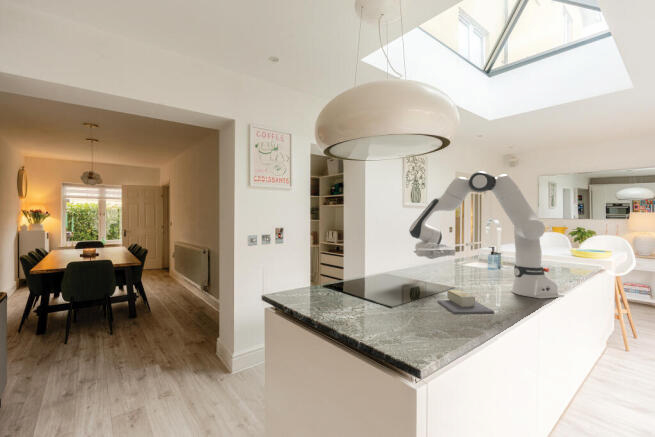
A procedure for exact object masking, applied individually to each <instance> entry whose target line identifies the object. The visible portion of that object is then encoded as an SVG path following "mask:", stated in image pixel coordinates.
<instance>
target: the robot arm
mask: <svg viewBox="0 0 655 437" xmlns="http://www.w3.org/2000/svg"><path fill="white" fill-rule="evenodd" d="M488 191H489V192H490V191H491V192H492V193H493V195H494V196H495V198H496V199H497V201H498V202H499V204H500V207H501V208H502V209H503V211H504V213H505V214H506V216H507V217H508V219H509V220H510V222H512V225H513V226H514V230H513V231H514V233H513V234H514V246H515V262H514V265H513V272H514V278H513V284H512V286H511V287H512V288H511V290H510V292H511V293H512V294H515V295H519V296H524V297H529V298H536V299H551V298H563V297H564V296H565V294H563V293H562V292H560V291H559V288H558V285H557V283H556V281H554V280H553V279H552V278H550V277H549V276H547V275H546V273H549V272H550V269H549V267H548V268H547V267H543V266H542V247H541V240H540V238H541V237H543V236H544V234H545V232H546V227H545V225H544V222H543V221H542V220H541V218H540V216H538V214H537V213H536V212H535V210H534V209H533V208H532V206H531V205H530V203H529V202H528V201H527V199H526V197H525V196H524V194H523V192H522V190H521V189H520V188H519V186H518V185H517V183H516V182H515V181H514V180H513V179H512V177H511V176H510V175H509V174H508V175H507V174H499V175H497V176H494V175H492V174H490V173H488V172H485V171H477V172H476V171H475V172H474V173H472V174H471V175H470V176H469V178H466V177H464V176H457V177H454V179H453V180H452V181H451V182H450V184H448V186H447V187H446V189H445V191H444V193H443V194H442V195H440V196H439V197H438V198H434V199H433V200H431V202H430V203H429V204H428V205H427V206H426V207H425V208H424V210H423V211H422V212H421V213H420V215H419V216H418V217H417V218H416V219H415V220H414V221H413V222H412V224H410V227H409V230H408V231H409V235H411V238H414V239H418V240H420V241H418V242H417V243H416V244H415V246H414V248H415V249H414V250H413V253H414V254H415V255H416V256H417V257H421V258H423V257H424V258H427V259H429V260H430V259H431V260H434V259H437V258H441V257H442V258H443V257H447V256H448V257H450V256H454V257H455V255H456V249H455V248H454V247H452V246H448V245H446V244H441V242H442V239H443V236H442V235H443V234H442V232H441V230H440V229H438V228H436V227H434V226H432V225H429V224H426V222H427V221H428V220H429V218H430V217H431V216H433V214H434V213H435V212H439V211H440V212H442V211H443V212H444V211H445V212H452V211H455V210H457V209H459V208H460V207H461V206H462V204H463V202H464V200H465V199H466V198H467V196H468V195H469V193H472V192H476V193H478V194H481V193H486V192H488ZM564 298H565V297H564Z"/></svg>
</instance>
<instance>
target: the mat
mask: <svg viewBox="0 0 655 437" xmlns="http://www.w3.org/2000/svg"><path fill="white" fill-rule="evenodd" d="M437 303H439V304H440V305H441V306H442V307H444V308H445V309H446V310H448V311H449V312H450V313H451V314H454V315H467V314H470V315H471V314H475V315H476V314H478V315H479V314H495V311H494V310H492V309H491V308H489V307H487V306H485V305H484V304H482V303H479V301H476V300H475V306H472V307H461V306H460V305H458V304H456V303H454V302H452V301H451V300H449V299H443V300H441V299H440V300H439V299H438V300H437Z"/></svg>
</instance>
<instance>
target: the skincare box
mask: <svg viewBox="0 0 655 437" xmlns="http://www.w3.org/2000/svg"><path fill="white" fill-rule="evenodd" d="M446 295H447V296H446V297H447V299H446V300H451V301H452V302H454V303H456V304H458V305H460V306H461V307H472V306H475V301H476V297H475V296H474V295H472V294H469V293H468V292H465V291H462V290H461V289H447V291H446Z"/></svg>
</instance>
